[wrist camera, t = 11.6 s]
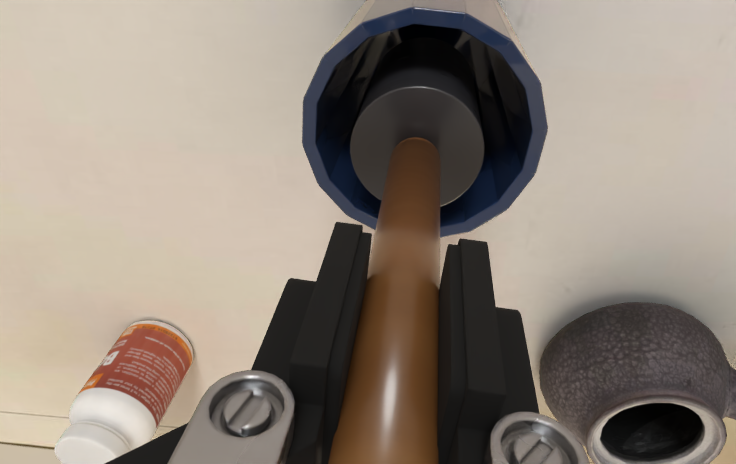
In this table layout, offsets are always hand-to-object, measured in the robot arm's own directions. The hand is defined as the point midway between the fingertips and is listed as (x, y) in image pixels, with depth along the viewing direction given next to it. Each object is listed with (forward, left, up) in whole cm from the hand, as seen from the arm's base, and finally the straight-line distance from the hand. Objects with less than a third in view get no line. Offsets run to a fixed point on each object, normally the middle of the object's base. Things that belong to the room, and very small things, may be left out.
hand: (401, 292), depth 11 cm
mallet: (0, 0, -15) cm, 15 cm away
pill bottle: (+27, -19, -23) cm, 40 cm away
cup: (0, 0, -22) cm, 22 cm away
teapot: (+21, +21, -23) cm, 37 cm away
